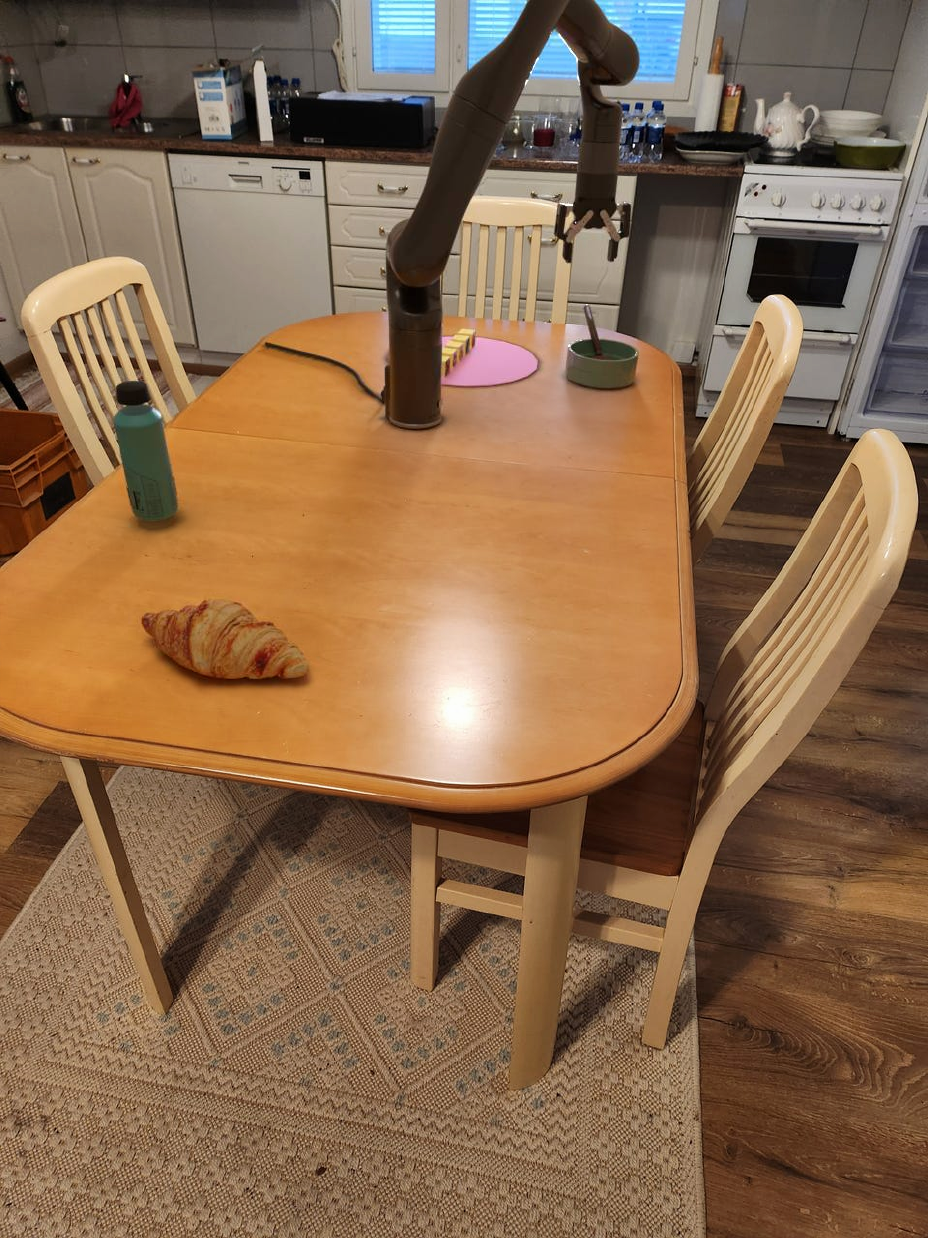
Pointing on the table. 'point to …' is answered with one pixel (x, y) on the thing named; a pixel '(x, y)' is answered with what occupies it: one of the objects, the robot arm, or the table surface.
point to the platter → (483, 361)
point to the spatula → (594, 335)
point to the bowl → (602, 364)
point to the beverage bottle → (144, 454)
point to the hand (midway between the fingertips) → (589, 261)
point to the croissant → (224, 641)
